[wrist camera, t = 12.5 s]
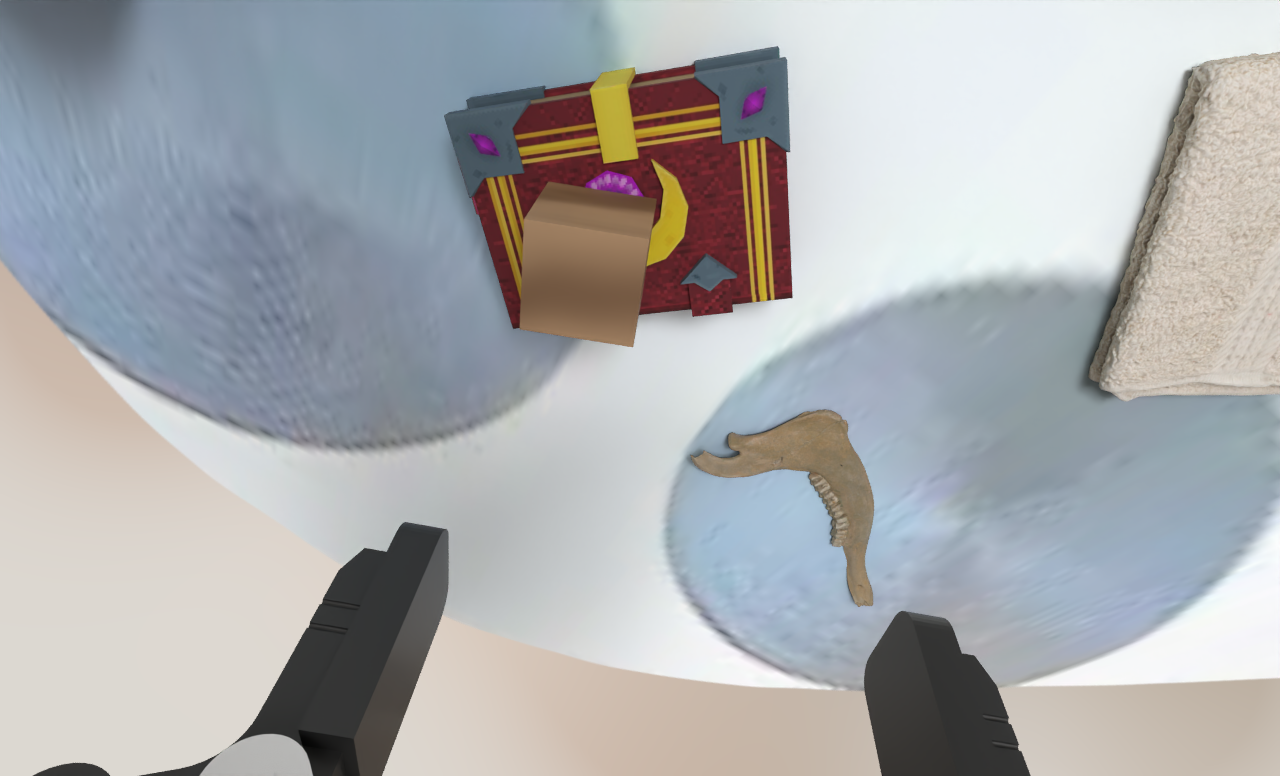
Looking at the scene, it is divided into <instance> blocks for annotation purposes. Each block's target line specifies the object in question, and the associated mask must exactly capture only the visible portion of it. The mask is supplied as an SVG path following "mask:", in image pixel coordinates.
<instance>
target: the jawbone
mask: <svg viewBox="0 0 1280 776" xmlns="http://www.w3.org/2000/svg"><path fill="white" fill-rule="evenodd" d="M847 432H848V424H847V421H846V420H842V418H841V416H840V415H838V414H837V413H835V412H833V411H831V410H817V411H814V412H808V411H807V412H804V413H802V414H801V415H799V416H798V417H796V418H795V419H792V420H790V421H788V422H786V423H784V424H782V425H780V426H778V427H776V428H774V429H772V430H770V431H767V432H764V433H760V434H755V435H748V436H744V435H738V434H735V433H733V432H732V433H730V434H729V436H728V442H729V447H730V448H731V449H732V450H734V451H739V452H740V454H739V455H737V456H735V457H731V458H719V457H716V456H713V455H712V454H710V453H708V452H706V451H703V454H702V455H700V456H698V457H694V456H692V455H691V458H692V461H693V463H694V464H695V466H697V467H698V468H699V469H701V470H702V471H705V472H707V473H709V474H712V475H714V476H719V477H727V478H732V477H748V476H753V475H757V474H760V473H764V472H768V471H772V470H780V469H790V470H797V471H807V472H810V473H811V474H810V475H809V479H810V481H811V485H814V487H815V491H818V492H819V497H821V498H823V503H824V504H826V505H827V507H826V509H827V510H829V514H830V516H832V518H833V520H832V526H833V529H832V532H831V535H832V536H833V538H832V541H831V543H832V546H836V547H840V546H843V547H844V553H845V555H846V559H847V579H848V586H849V589H850V592H851V594H852V597H853V599H854V601H855V604H857V605H858V607H860V606H861V605H865V606H872V605H873V593H872V588H871V585H870V583H869V580H868V577H867V573H866V568H865V553H866V548H867V544H868V540H869V536H870V532H871V528H872V523H873V515H874V500H873V494H872V490H871V486H870V483H869V480H868V477H867V474H866V471H865V468H864V466H863V464H862V462H861V460H860V458H859V456H858V455H857V453H856V452H855V451H854V449H853V447H852V445H851V443H850V441H849V439H848V436H847ZM840 464H841V465H842V466H841V465H840Z"/></svg>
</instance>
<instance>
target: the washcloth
mask: <svg viewBox="0 0 1280 776" xmlns="http://www.w3.org/2000/svg"><path fill="white" fill-rule="evenodd" d="M1192 70H1193V72H1192V76H1191V77H1190V78H1189V79H1188V87H1187V89H1186V91H1185V97H1184V99H1183V101H1182V103H1181V105H1180V107H1179V112H1178V115H1177V116H1176V117H1175V119H1174V120H1173V121H1174V122H1175V125H1174V129H1173V133H1172V134H1171V135H1170V136H1169V137H1168V142H1167V148H1166V150H1165V154H1164V159H1163V161H1162V162H1161V169H1160V174H1159V176H1158V177H1157V178H1156V179H1155V182H1156V183H1155V185H1154V187H1153V188H1152V192H1151V195H1150V197H1149V199H1148V200H1147V202H1146V205H1145V210H1146V212H1145V214H1144V216H1143V218H1142V221H1141V222H1140V223H1139V224H1138V226H1139V229H1138V230H1137V231H1136V232H1137V236H1136V238H1135V247H1134V248H1133V250H1132V251H1131V256H1130V265H1129V267H1128V268H1127V269H1126V272H1125V276H1124V278H1123V280H1122V282H1121V284H1120V288H1121V289H1120V293H1119V295H1118V299H1117V302H1116V305H1115V306H1114V308H1113V309H1112V311H1111V316H1110V319H1109V320H1108V322H1107V323H1106V328H1105V330H1104V335H1103V337H1102V340H1101V341H1100V344H1099V349H1098V350H1097V351H1096V353H1095V357H1094V361H1093V362H1092V364H1091V366H1090V372H1089V375H1088V376H1089V378H1090V379H1091V380H1093V381H1095V382H1100V384H1099V387H1100V389H1102V390H1105V391H1108V392H1112V394H1114V395H1115V396H1117V397H1118V398H1119V399H1120V400H1122V401H1130V400H1131V399H1134V398H1137V397H1140V396H1157V395H1239V396H1243V395H1266V394H1271V395H1272V394H1280V52H1277V53H1271V54H1265V55H1258V54H1251V55H1249V56H1240V57H1232V58H1226V59H1220V60H1211V61H1207V62H1205V63H1203V64H1201V65H1200V66H1199V67H1193V68H1192Z"/></svg>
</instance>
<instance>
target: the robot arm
mask: <svg viewBox="0 0 1280 776" xmlns="http://www.w3.org/2000/svg"><path fill="white" fill-rule="evenodd" d="M447 592H448V531H447V529H442V528H436V527H430V526H425V525H419V524H413V523H408V522H404V523H403V524H402V525H401V526H400V527H399V529H398V531H397V532H396V534H395V536H394V538H393V540H392V542H391V544H390V546H389V548H388V550H387V552H384V551H379V550H373V549H367V548H364V549H363V550H362V551H361V552H360V553H359V554H357V555H356V556H355V557H354V558H353V559H352V560H350V561H349V562H348V563H347V564H346V565H345V566H343V567H342V568H341V569H340V570H339V571H338V573H337V575H336V576H335V578H334V580H333V582H332V584H331V586H330V587H329V589H328V591H327V593H326V594H325V596H324V598H323V602H322V604H320V605H319V607H318V609H317V610H316V612H315V614H314V616H313V618H312V619H311V621H310V625H309V628H307V629H306V630H305V632H304V634H303V635H302V637H301V639H300V641H299V643H298V644H297V646H296V648H295V650H294V652H293V654H292V655H291V657H290V659H289V661H288V663H287V664H286V666H285V668H284V670H283V671H282V673H281V675H280V677H279V679H278V680H277V682H276V684H275V686H274V687H273V689H272V691H271V693H270V695H269V696H268V698H267V700H266V702H265V704H264V705H263V707H262V709H261V711H260V712H259V714H258V716H257V718H256V719H255V721H254V722H253V724H252V725H251V726H250V727H249V729H248V730H247V731H246V732H245V733H244V734H243V735H242V736H241V737H240V738H239V739H238V740H237V741H236V742H235V743H233V744H232V745H231V746H229V747H228V748H227V749H225V750H224V751H222V752H221V753H219V754H217V755H216V756H214V757H212V758H210V759H208V760H206V761H204V762H201V763H198V764H196V765H193V766H189V767H185V768H181V769H176V770H170V771H164V772H158V773H152V774H147V775H141V776H382V774H383V771H384V769H385V766H386V763H387V761H388V758H389V755H390V752H391V750H392V747H393V745H394V742H395V739H396V737H397V734H398V731H399V729H400V726H401V723H402V721H403V718H404V715H405V713H406V710H407V707H408V705H409V702H410V699H411V697H412V694H413V691H414V689H415V686H416V683H417V681H418V678H419V675H420V673H421V670H422V667H423V665H424V662H425V659H426V657H427V654H428V651H429V649H430V646H431V644H432V641H433V638H434V636H435V633H436V630H437V627H438V625H439V622H440V619H441V617H442V613H443V610H444V606H445V602H446V597H447ZM864 688H865V695H866V700H867V705H868V710H869V715H870V720H871V725H872V729H873V735H874V739H875V744H876V749H877V754H878V759H879V764H880V769H881V773H882V776H1030V773H1029V770H1028V768H1027V765H1026V763H1025V760H1024V757H1023V755H1022V752H1021V751H1019V750H1018V745H1019V744H1018V741H1017V739H1016V736H1015V733H1014V731H1013V728H1012V725H1011V724H1009V723H1008V718H1009V717H1008V715H1007V712H1006V709H1005V707H1004V704H1003V701H1002V699H1001V696H1000V694H999V691H998V688H997V686H996V684H995V683H994V682H993V680H992V679H991V677H990V676H989V675H988V673H987V672H986V671H985V669H984V668H983V667H982V665H981V664H980V663H979V661H978V660H977V658H976V657H975V656H973V655H968V654H962V653H961V650H960V647H959V644H958V641H957V638H956V636H955V633H954V630H953V628H952V626H951V624H950V623H949V621H948V620H946V619H944V618H941V617H935V616H929V615H923V614H918V613H912V612H906V611H901V612H899V613H898V614H897V615H896V616H895V617H894V619H893V621H892V622H891V624H890V625H889V627H888V628H887V630H886V632H885V633H884V635H883V636H882V638H881V639H880V641H879V642H878V644H877V646H876V647H875V649H874V650H873V652H872V653H871V655H870V657H869V659H868V661H867V664H866V669H865V676H864ZM33 776H110V775H109V774H108V773H107V772H106V771H105V770H103V769H102V768H100V767H98V766H95V765H92V764H87V763H70V764H64V765H59V766H56V767H52V768H49V769H47V770H44V771H42V772H39V773H37V774H35V775H33Z"/></svg>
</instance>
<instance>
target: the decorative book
mask: <svg viewBox="0 0 1280 776" xmlns="http://www.w3.org/2000/svg"><path fill="white" fill-rule="evenodd" d="M466 101H467V105H468V108H469V109H467V110H460V111H454V112H449V113H447V114H446V115H445V116H444V117H445V120H446V124H447V127H448V130H449V133H450V136H451V140H452V143H453V146H454V149H455V152H456V156H457V159H458V162H459V165H460V169H461V172H462V175H463V178H464V181H465V185H466V188H467V191H468V194H469V197H470V198H471V197H472V200H473V204H474V207H475V210H476V214H478V215H479V216H480V220H481V223H482V226H483V230H484V233H485V236H486V240H487V243H488V246H489V250H490V253H491V256H492V260H493V263H494V266H495V270H496V273H497V276H498V280H499V283H500V286H501V290H502V293H503V296H504V300H505V303H506V307H507V310H508V313H509V317H510V320H511V323H512V327H513V329H516V328H520V308H521V283H522V259H523V234H524V218H525V217H526V215H527V214H528V212H529V211H530V209H531V208H532V206H533V205H534V203H535V202H536V200H537V198H538V197H539V195H540V194H541V192H542V191H543V189H544V188H545V186H546V185H547V183H548V182H554V183H561V184H567V185H573V186H579V187H585V188H592V189H598V190H604V191H610V192H617V193H623V194H629V195H635V196H641V197H648V198H654V199H657V201H656V207H655V214H654V220H653V227H652V234H651V240H650V247H649V253H648V260H647V266H646V273H645V279H644V286H643V293H642V299H641V305H640V310H639V315H642V314H651V313H660V312H669V311H678V310H687V309H692V316H693V317H694V316H703V315H712V314H722V313H731V312H733V307H732V305H733V304H742V303H751V302H760V301H769V300H778V299H787V298H792V275H791V252H790V228H789V205H788V182H787V158H786V152H790V136H789V106H788V75H787V59H786V58H785V57H783V58H779V48H778V46H777V47H771V48H765V49H759V50H754V51H748V52H742V53H736V54H731V55H725V56H719V57H714V58H708V59H702V60H696V61H695V65H690V66H684V67H678V68H672V69H666V70H660V71H654V72H648V73H642V74H635V67H634V68H628V69H622V70H616V71H610V72H604V73H602V74H601V75H600V76H599V78H598V79H597V80H596V81H594V82H588V83H582V84H576V85H570V86H564V87H558V88H552V89H545V86H540V87H534V88H527V89H521V90H515V91H509V92H502V93H496V94H490V95H483V96H477V97H471V98H469V99H468V100H466Z"/></svg>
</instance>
